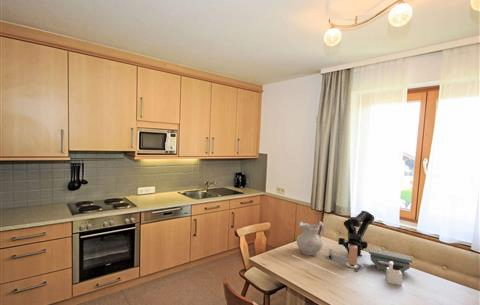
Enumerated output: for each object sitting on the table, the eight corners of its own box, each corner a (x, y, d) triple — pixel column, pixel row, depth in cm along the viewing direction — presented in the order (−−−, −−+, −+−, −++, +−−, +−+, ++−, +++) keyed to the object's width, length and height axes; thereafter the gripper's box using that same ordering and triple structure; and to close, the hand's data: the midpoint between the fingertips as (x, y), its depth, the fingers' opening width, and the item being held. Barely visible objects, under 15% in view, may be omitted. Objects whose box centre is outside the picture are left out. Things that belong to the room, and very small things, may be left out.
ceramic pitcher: (311, 247, 204) (310, 217, 206) (330, 255, 188) (329, 222, 189) (291, 252, 193) (291, 220, 195) (310, 260, 177) (309, 225, 178)
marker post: (348, 261, 175) (348, 244, 175) (355, 262, 174) (356, 245, 173) (348, 264, 170) (349, 247, 170) (356, 265, 169) (357, 248, 169)
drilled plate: (332, 255, 189) (332, 253, 189) (363, 266, 172) (363, 265, 172) (324, 259, 181) (324, 257, 181) (356, 271, 164) (356, 270, 164)
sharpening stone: (409, 271, 168) (410, 256, 168) (411, 276, 161) (412, 260, 161) (368, 262, 179) (369, 247, 179) (368, 266, 172) (369, 251, 172)
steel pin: (329, 255, 186) (330, 247, 185) (332, 257, 184) (333, 248, 184) (328, 256, 184) (328, 248, 184) (331, 257, 182) (331, 249, 182)
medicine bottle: (398, 280, 156) (399, 261, 156) (401, 285, 149) (403, 266, 149) (385, 277, 158) (386, 259, 158) (388, 283, 152) (389, 264, 151)
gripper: (339, 226, 178) (339, 247, 168) (367, 230, 172) (369, 252, 162) (338, 233, 186) (338, 254, 176) (365, 237, 180) (367, 259, 170)
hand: (353, 254), depth 171 cm, fingers closed on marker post, 5 cm apart
